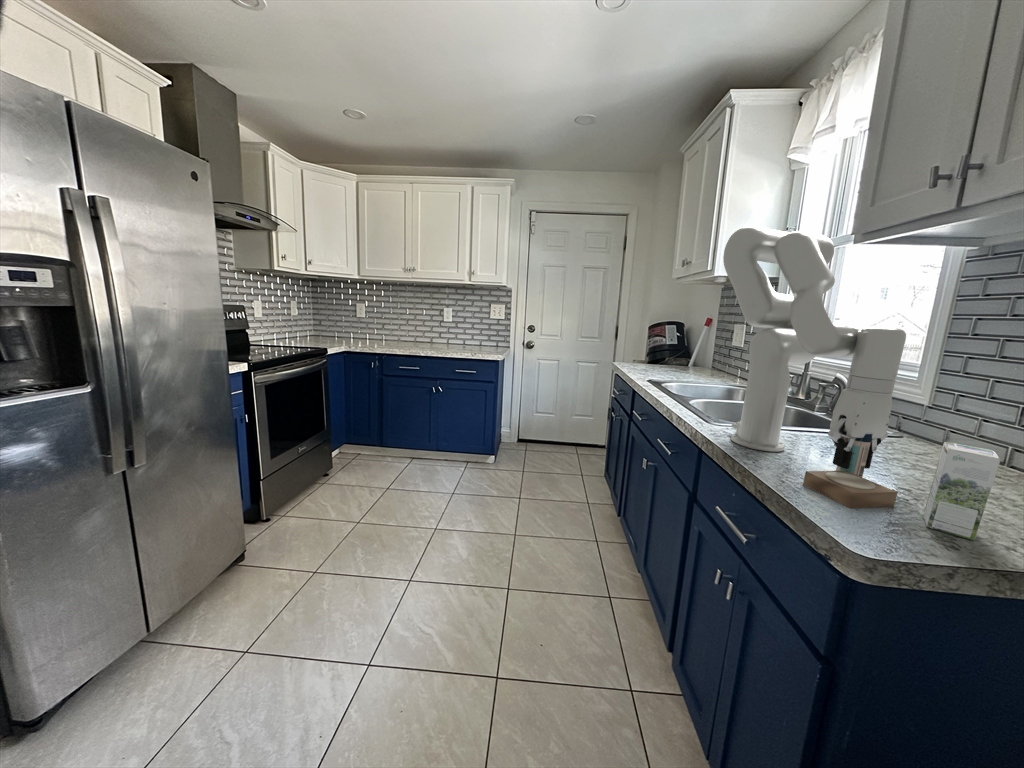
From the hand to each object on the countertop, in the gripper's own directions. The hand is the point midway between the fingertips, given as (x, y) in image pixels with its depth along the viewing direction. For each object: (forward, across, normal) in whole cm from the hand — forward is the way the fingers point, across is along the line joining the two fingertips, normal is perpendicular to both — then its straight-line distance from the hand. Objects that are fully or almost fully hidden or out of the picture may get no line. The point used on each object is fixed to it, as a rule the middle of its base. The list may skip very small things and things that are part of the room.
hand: (850, 465), depth 89 cm
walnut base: (+3, +10, +8) cm, 13 cm away
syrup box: (+3, +4, +21) cm, 21 cm away
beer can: (+3, 0, 0) cm, 3 cm away
